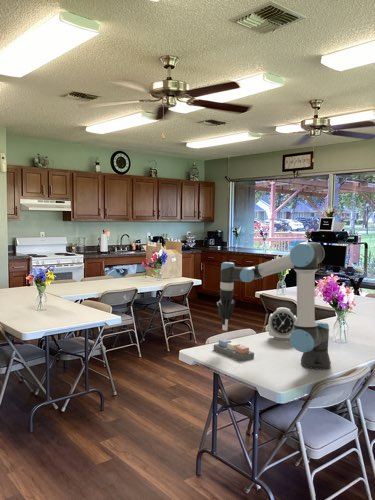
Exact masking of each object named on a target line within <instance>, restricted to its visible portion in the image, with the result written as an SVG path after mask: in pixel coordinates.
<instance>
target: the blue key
mask: <svg viewBox="0 0 375 500" xmlns="http://www.w3.org/2000/svg"><path fill="white" fill-rule="evenodd" d="M231 342H232V340H229V339H228V338H223V339H219V340H218V344H219V345H220V346H222V347H227V343H231Z"/></svg>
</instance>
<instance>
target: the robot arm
mask: <svg viewBox="0 0 375 500" xmlns="http://www.w3.org/2000/svg"><path fill="white" fill-rule="evenodd" d="M325 253H326V252H325V249H324V247H323V245H322V244H320V243H318V242H315V241H313V242H311V241H310V242H307V241H306V242H305V241H303V242H299V243H297V244H295V245H294V246H293V247H292V248H291V250H290V253H289V254H287V255H283V256H281V257H277V258H274V259H271V260H269V261H264V262H262V263H259V264H256V265H253V266H246V267H245V266H244V267H239V266H238V267H237V266H236V265H235V262H232V261H229V262H228V261H224V262H222V263H221V265H220V267H221V268H220V283H219V288H220V289H219V297H220V298H219V301H216V303H215V304H216V305H217V311H218V318H219V319H221V325H222V326H221V327H222V329H221V330H222V331H224V332H225V331H228V325H229V320H230V319H231V318H232V317H233V313H234V308H235V304H236V303H237V302H236V300H234V299H233V297H234V285H235V284H234V281H238V282H244V283H250V282H252V281H253V280H258V279H259V280H261V279H262V278H265V277H267V276H270V275H274V274H277V273H281V272H285V271H286V270H290V269H293V270H294V271H295V273H296V318H297V321H296V322H295V323H294V331H293V332H292V333H291V336H290V341H289V342H290V344H291V346H292V347H293V348H294V350H295V351H298V352H299V353H302V354H301V357H300V364H301V366H303V367H306V368H309V369H314V370H327V369H330V368H331V366H332V365H331V364H332V363H331V360H330V355H329V337H330V324H329V323H327V322H324V321H319V320H316V318H315V309H316V307H315V304H316V302H315V296H316V294H315V292H316V289H315V282H316V281H315V277H316V276H315V273H316V272H317V271H318V270H319V269H318V268H319V265H318V264H320V263H322V261H323V260H324V259H325V255H326V254H325Z"/></svg>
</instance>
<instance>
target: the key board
mask: <svg viewBox="0 0 375 500" xmlns="http://www.w3.org/2000/svg"><path fill="white" fill-rule="evenodd" d="M213 351H216V352H217V353H220V354H222V355H225V356H227V357H229V358H231V359H235V360H236V361H238V362H239V361H240V362H242V361H246V360H251V359H254V358H255V352H253V351H251V350H249V353H246V354H240V353H237V352H236V350H234V351H232V350H230V349H227V347H222V346H220V345H219V343H216V344H213Z"/></svg>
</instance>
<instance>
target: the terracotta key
mask: <svg viewBox="0 0 375 500" xmlns="http://www.w3.org/2000/svg"><path fill="white" fill-rule="evenodd" d="M249 351H250V347H248V346H246V345H243V344H242V345H240V346H237V347H236V352H237V353H240V354H246V353H249Z"/></svg>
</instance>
